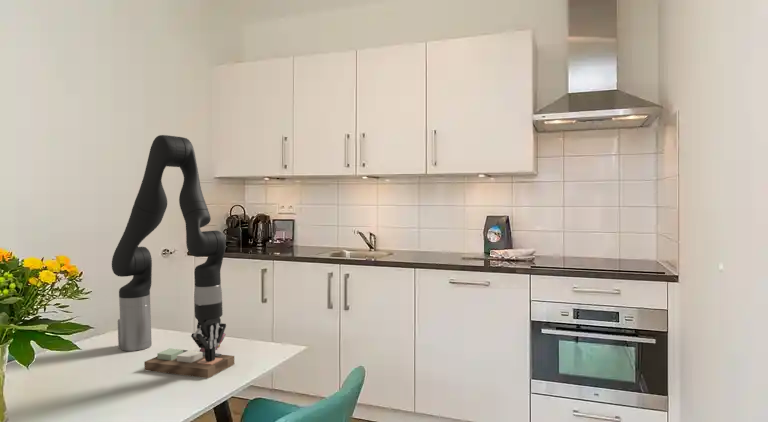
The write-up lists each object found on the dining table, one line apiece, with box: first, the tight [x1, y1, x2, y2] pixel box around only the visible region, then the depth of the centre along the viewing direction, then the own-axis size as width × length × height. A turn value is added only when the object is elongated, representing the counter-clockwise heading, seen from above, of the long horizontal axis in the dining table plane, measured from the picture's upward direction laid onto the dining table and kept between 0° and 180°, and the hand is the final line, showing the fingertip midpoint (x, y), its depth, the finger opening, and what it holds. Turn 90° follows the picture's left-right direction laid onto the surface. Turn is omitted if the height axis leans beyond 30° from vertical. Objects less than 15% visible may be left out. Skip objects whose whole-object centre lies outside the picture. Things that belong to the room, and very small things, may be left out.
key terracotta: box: [197, 358, 223, 365], centre depth 147 cm, size 5×5×2 cm
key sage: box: [156, 348, 184, 360], centre depth 152 cm, size 5×5×2 cm
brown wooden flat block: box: [143, 349, 235, 379], centre depth 150 cm, size 22×12×3 cm, turn 71°
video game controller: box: [199, 332, 226, 352], centre depth 166 cm, size 10×5×7 cm, turn 179°
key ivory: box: [177, 350, 203, 363], centre depth 150 cm, size 5×5×2 cm
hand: (210, 360), depth 147 cm, fingers closed
